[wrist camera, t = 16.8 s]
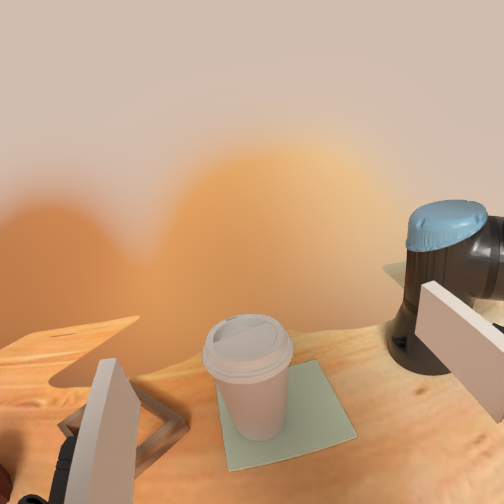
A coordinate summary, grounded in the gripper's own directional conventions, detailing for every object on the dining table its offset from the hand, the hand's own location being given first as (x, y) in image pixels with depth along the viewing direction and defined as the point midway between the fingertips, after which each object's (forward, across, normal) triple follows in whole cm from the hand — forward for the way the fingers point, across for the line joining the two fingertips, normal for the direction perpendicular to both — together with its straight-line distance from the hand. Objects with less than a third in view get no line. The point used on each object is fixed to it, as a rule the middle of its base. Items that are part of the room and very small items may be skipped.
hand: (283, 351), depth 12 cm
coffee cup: (+16, -1, -26) cm, 31 cm away
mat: (+18, +1, -26) cm, 32 cm away
